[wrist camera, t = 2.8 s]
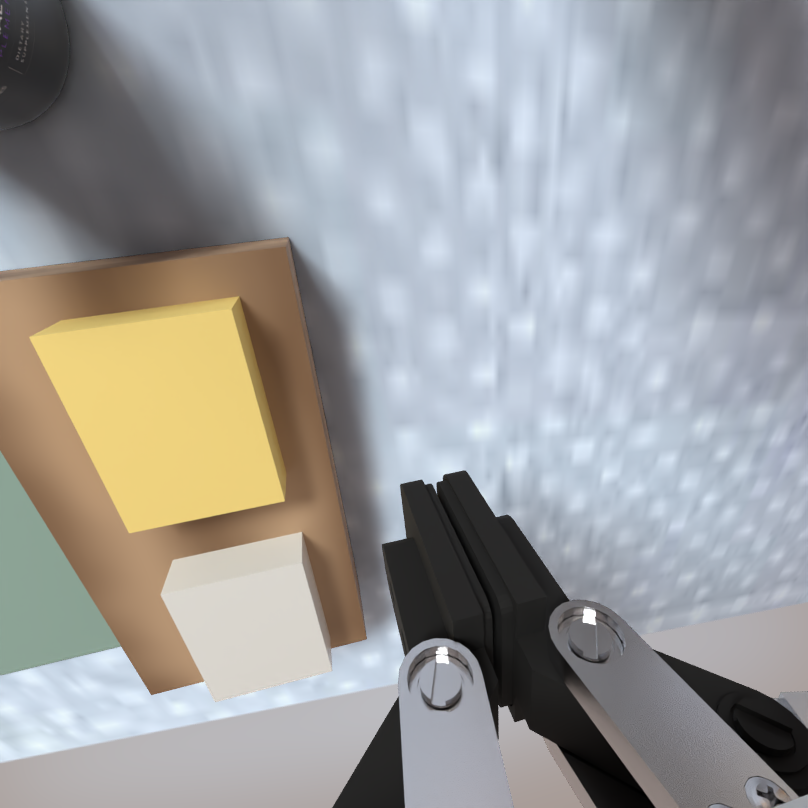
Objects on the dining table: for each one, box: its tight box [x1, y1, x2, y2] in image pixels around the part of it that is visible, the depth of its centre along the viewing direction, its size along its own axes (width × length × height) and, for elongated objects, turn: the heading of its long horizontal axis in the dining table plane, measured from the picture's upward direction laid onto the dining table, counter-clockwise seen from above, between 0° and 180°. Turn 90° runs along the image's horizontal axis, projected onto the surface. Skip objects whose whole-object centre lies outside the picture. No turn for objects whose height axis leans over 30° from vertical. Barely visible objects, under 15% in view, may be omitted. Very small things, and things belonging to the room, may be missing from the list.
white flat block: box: [161, 532, 332, 702], centre depth 21 cm, size 6×8×2 cm
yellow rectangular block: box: [29, 296, 287, 533], centre depth 16 cm, size 6×8×2 cm
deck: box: [0, 237, 367, 695], centre depth 21 cm, size 12×22×4 cm, turn 6°
